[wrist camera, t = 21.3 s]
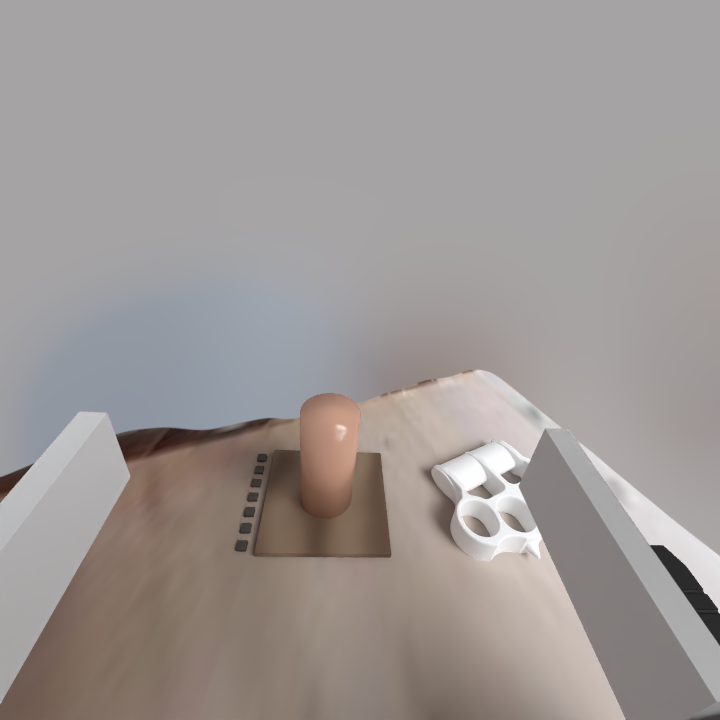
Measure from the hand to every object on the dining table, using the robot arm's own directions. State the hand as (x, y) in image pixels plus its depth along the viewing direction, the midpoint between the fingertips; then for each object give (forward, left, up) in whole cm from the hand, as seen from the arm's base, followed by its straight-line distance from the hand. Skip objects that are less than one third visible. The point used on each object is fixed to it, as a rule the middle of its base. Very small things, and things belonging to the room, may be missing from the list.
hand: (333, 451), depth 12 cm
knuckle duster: (-22, -21, -31) cm, 43 cm away
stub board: (0, -21, -30) cm, 36 cm away
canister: (0, -21, -29) cm, 36 cm away
